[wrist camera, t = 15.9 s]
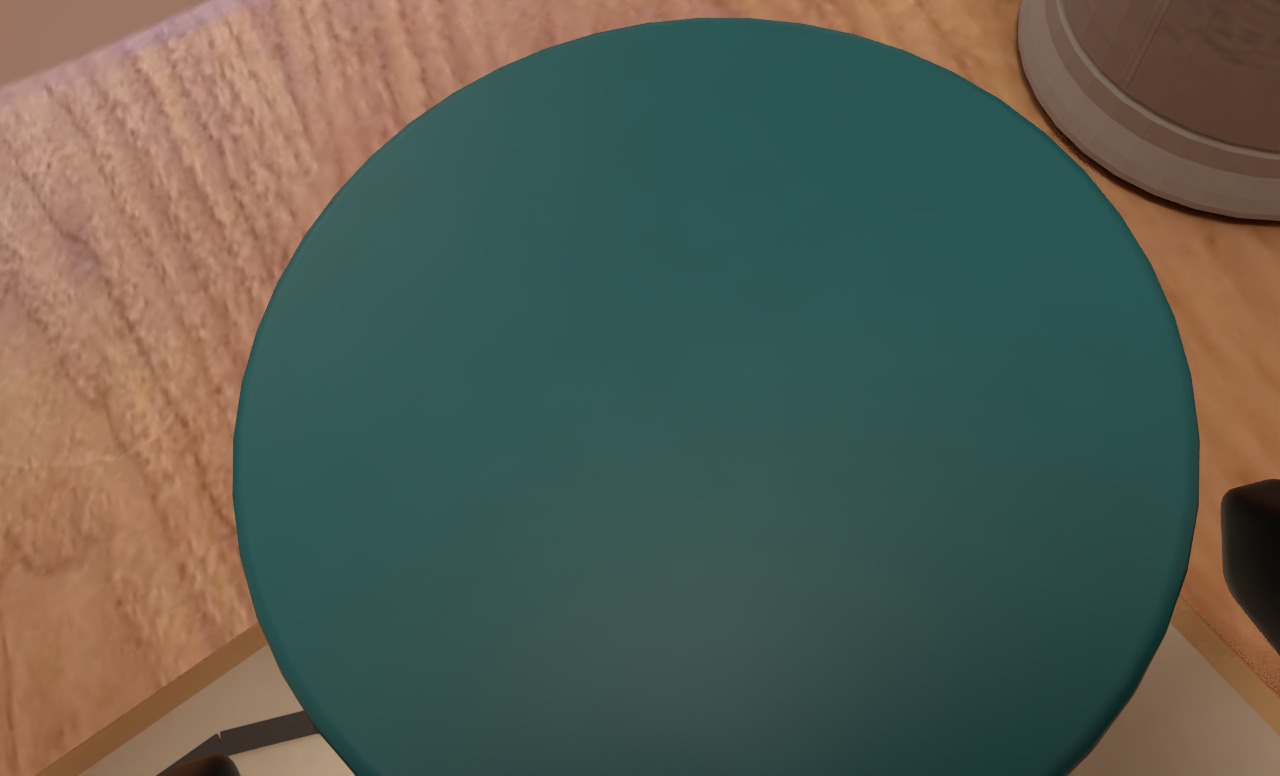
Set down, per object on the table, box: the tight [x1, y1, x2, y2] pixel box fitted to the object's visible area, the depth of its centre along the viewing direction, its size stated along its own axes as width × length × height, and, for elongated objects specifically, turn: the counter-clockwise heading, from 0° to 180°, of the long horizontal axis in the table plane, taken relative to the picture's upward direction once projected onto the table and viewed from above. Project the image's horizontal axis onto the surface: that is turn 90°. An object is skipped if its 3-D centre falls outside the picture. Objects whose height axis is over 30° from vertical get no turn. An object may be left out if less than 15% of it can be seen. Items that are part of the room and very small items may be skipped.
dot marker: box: [233, 18, 1200, 776], centre depth 10 cm, size 4×4×12 cm
